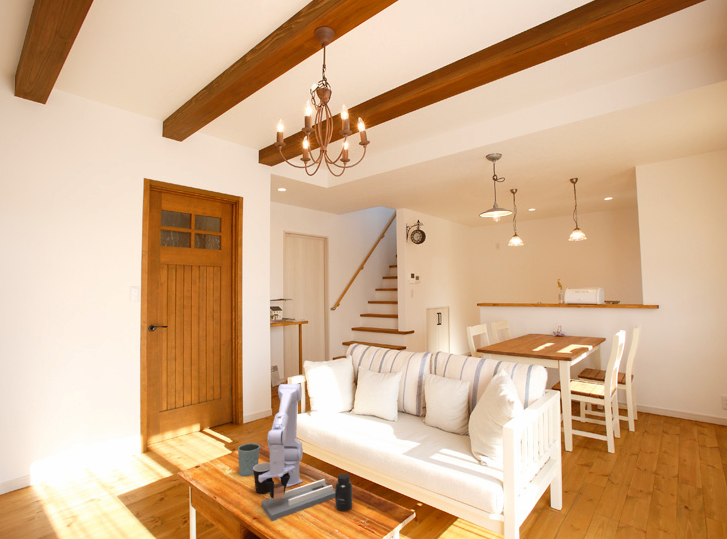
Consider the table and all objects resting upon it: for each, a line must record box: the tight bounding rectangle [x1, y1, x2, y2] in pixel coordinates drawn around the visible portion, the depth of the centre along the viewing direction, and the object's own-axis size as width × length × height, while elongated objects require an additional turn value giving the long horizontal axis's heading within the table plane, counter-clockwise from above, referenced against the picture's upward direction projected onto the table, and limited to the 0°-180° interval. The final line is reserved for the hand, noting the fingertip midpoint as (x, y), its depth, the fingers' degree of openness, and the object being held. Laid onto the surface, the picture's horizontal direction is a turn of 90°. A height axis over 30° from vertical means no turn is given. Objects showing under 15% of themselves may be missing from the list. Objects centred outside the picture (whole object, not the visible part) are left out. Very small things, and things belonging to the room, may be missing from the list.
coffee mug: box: [253, 462, 270, 495], centre depth 166 cm, size 12×9×10 cm
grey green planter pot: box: [237, 442, 261, 477], centre depth 182 cm, size 10×10×12 cm
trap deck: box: [260, 482, 335, 522], centre depth 155 cm, size 12×28×2 cm, turn 124°
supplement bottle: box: [334, 473, 353, 512], centre depth 151 cm, size 7×7×12 cm
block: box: [273, 482, 284, 500], centre depth 150 cm, size 4×4×4 cm
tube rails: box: [282, 478, 334, 506], centre depth 157 cm, size 8×20×2 cm, turn 124°
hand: (277, 495), depth 150 cm, fingers closed on block, 4 cm apart
